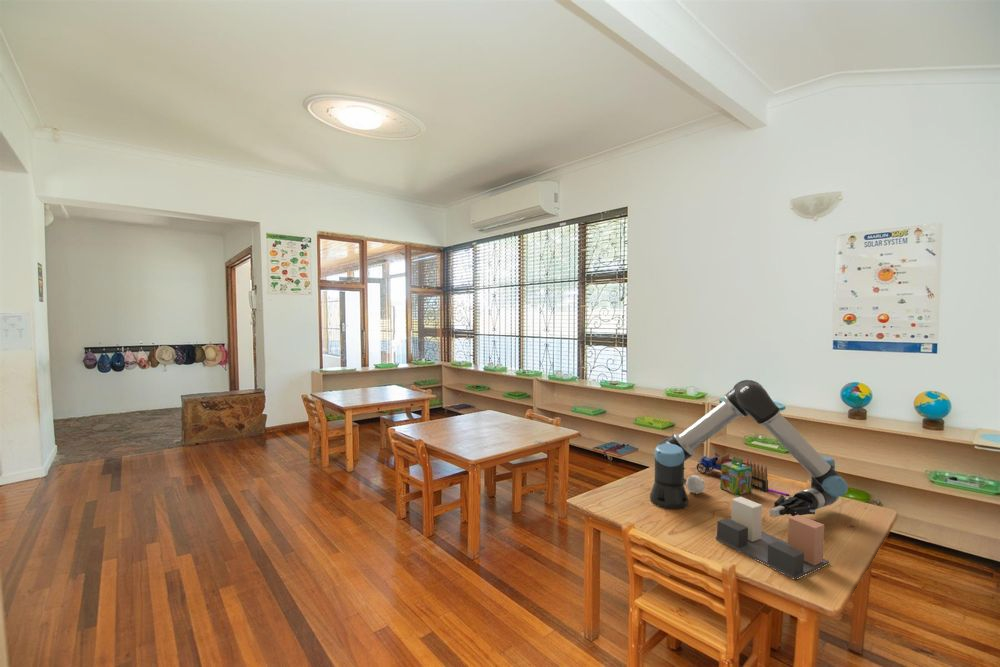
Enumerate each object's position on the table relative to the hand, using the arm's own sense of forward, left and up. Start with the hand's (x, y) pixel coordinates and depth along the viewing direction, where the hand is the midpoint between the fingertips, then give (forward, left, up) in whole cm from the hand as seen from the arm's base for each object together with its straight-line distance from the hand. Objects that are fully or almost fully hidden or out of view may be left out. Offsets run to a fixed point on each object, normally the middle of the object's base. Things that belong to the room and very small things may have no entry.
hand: (771, 513), depth 163 cm
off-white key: (-12, -6, -5) cm, 15 cm away
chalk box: (+5, +37, -7) cm, 38 cm away
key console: (-8, -14, -7) cm, 18 cm away
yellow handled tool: (+25, +33, -7) cm, 42 cm away
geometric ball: (-14, +34, -7) cm, 38 cm away
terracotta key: (0, -20, -5) cm, 21 cm away
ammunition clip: (+15, +41, -7) cm, 44 cm away
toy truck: (+7, +54, -7) cm, 54 cm away
